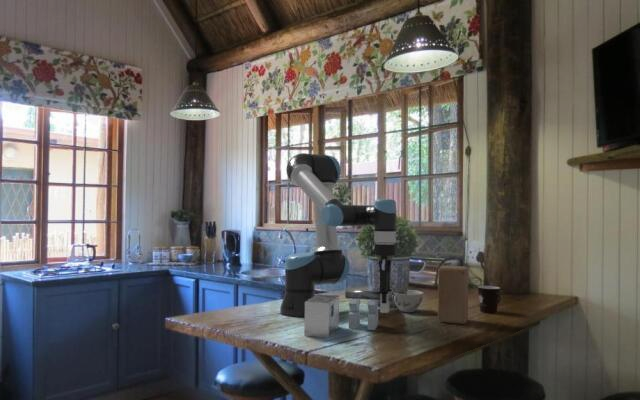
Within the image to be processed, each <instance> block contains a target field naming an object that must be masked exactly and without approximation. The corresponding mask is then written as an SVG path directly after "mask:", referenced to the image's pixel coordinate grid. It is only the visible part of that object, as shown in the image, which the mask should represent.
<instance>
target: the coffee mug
mask: <svg viewBox="0 0 640 400" xmlns="http://www.w3.org/2000/svg"><path fill="white" fill-rule="evenodd" d="M500 289H501V288H500V287H499V286H493V285H478V286H477V293H478V302H479V312H481V313H483V314H497V312H498V306H499V304H500V302H501V294H500Z"/></svg>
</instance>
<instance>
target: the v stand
mask: <svg viewBox="0 0 640 400" xmlns="http://www.w3.org/2000/svg"><path fill="white" fill-rule="evenodd" d="M360 304H361V299H349V301H348V306H349V307H348V308H349V313H348V329H350V330H351V329H353V330H356V329H357V328H358V326H359V325H360V324H361V309H360ZM378 307H379V300H368V301H367V308H368V313H367V327H366V328H367V330H368V331H370V330H371V331H375V330H377V327H378V325H379V310H378V309H379V308H378Z"/></svg>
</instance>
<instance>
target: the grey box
mask: <svg viewBox="0 0 640 400" xmlns="http://www.w3.org/2000/svg"><path fill="white" fill-rule="evenodd" d="M339 326H340V295H336V294H320V293H317V294H315V296H313V297H312V298H310V299H309V300H307V301H305V316H304V330H303V331H304V337H318V338H319V337H320V338H330V337H331V336H332V335H333V334H334V332H336V330H337V329H338V328H339Z"/></svg>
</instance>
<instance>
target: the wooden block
mask: <svg viewBox="0 0 640 400" xmlns="http://www.w3.org/2000/svg"><path fill="white" fill-rule="evenodd" d="M437 273H438V274H437V275H438V276H437V277H438V279H437V285H438V287H437V290H438V292H437V294H438V295H437V297H438V298H437V301H438V302H437V303H438V304H437V319H438V322H439V323H448V324H457V325H458V324H460V325H465V324H466V323H467V321H468V319H469V268H468V267H467V266H463V265H461V266H460V265H442V266H440V267H439V268H438V272H437Z"/></svg>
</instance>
